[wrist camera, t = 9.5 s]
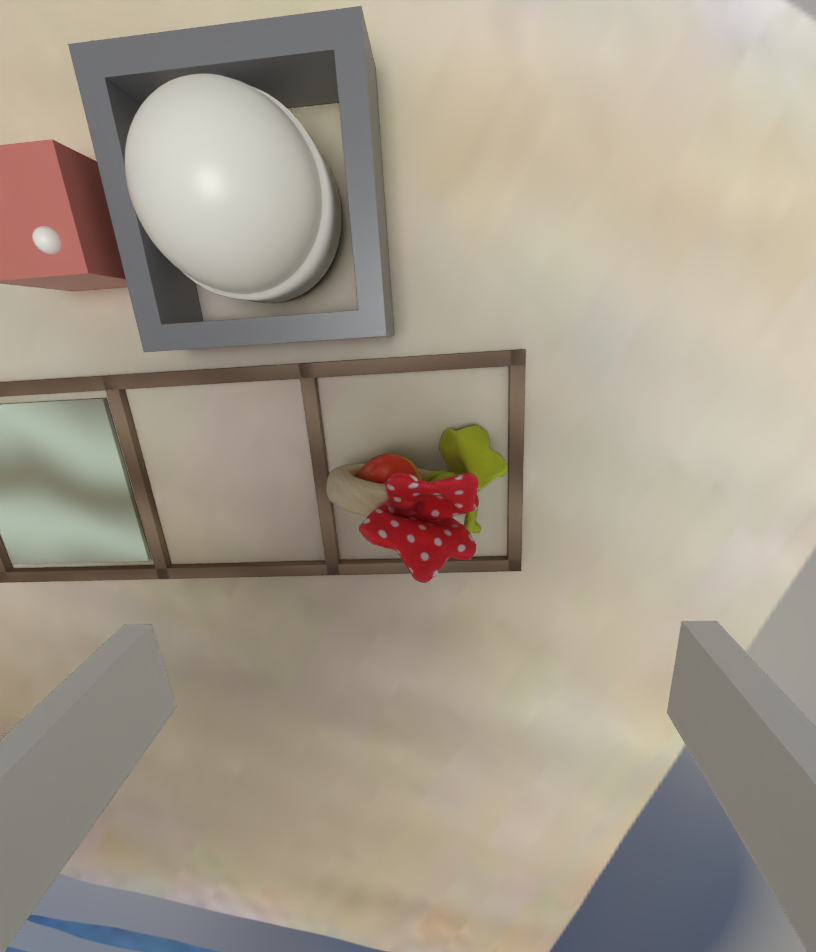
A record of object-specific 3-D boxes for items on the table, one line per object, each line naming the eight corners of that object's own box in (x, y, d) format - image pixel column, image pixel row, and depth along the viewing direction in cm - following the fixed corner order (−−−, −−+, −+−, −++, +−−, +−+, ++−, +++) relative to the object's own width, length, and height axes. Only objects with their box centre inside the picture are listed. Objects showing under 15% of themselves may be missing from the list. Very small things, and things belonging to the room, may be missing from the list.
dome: (352, 297, 23) (313, 282, 16) (206, 308, 23) (104, 299, 16) (334, 114, 20) (278, -5, 13) (172, 132, 21) (33, 27, 14)
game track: (519, 566, 28) (521, 570, 28) (6, 578, 31) (0, 582, 31) (523, 349, 24) (525, 349, 23) (-72, 386, 27) (-81, 387, 26)
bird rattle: (387, 505, 30) (520, 531, 26) (269, 584, 20) (449, 645, 16) (386, 414, 28) (528, 427, 24) (254, 455, 18) (454, 488, 14)
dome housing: (394, 335, 24) (382, 336, 19) (91, 355, 26) (1, 361, 20) (375, 66, 20) (353, -26, 15) (21, 108, 22) (-112, 37, 17)
